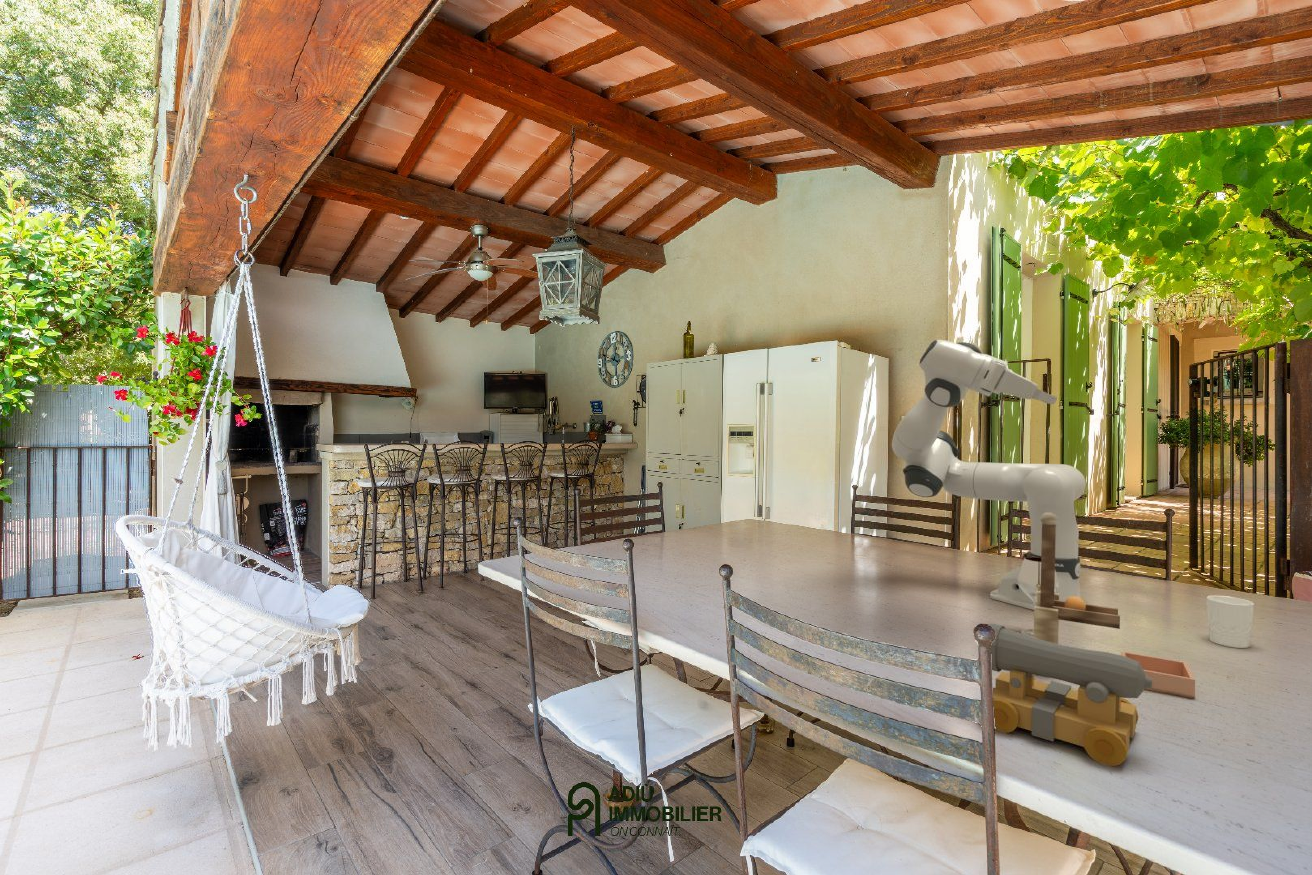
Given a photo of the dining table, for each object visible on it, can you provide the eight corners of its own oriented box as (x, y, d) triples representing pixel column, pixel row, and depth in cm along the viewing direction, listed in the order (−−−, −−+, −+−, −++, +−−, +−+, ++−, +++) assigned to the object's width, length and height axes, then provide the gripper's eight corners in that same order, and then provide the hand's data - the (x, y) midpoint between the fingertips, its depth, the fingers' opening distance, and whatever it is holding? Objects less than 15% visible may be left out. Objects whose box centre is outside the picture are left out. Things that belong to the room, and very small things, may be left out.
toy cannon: (1144, 778, 86) (1146, 673, 86) (973, 724, 102) (975, 634, 101) (1155, 736, 98) (1157, 643, 98) (1000, 694, 113) (1002, 613, 113)
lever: (1037, 620, 124) (1039, 515, 124) (1039, 606, 134) (1041, 508, 134) (1120, 633, 117) (1123, 521, 117) (1116, 618, 127) (1119, 514, 126)
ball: (1061, 613, 126) (1061, 596, 126) (1068, 610, 128) (1068, 593, 128) (1081, 617, 123) (1082, 600, 123) (1088, 614, 125) (1088, 597, 125)
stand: (1018, 670, 124) (1019, 606, 124) (1023, 645, 138) (1024, 588, 138) (1072, 680, 119) (1073, 614, 119) (1071, 654, 133) (1073, 594, 133)
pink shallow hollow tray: (1124, 685, 117) (1124, 667, 117) (1120, 668, 126) (1121, 651, 126) (1194, 698, 112) (1195, 679, 112) (1185, 679, 120) (1186, 662, 120)
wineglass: (1054, 632, 147) (1055, 557, 147) (1060, 643, 140) (1061, 564, 140) (1014, 627, 151) (1016, 554, 150) (1018, 637, 143) (1020, 561, 143)
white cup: (1262, 650, 136) (1263, 606, 136) (1220, 647, 138) (1222, 603, 138) (1236, 638, 144) (1237, 596, 144) (1197, 636, 146) (1198, 594, 145)
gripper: (985, 389, 155) (1042, 412, 150) (984, 388, 137) (1050, 414, 132) (997, 366, 154) (1056, 388, 148) (998, 362, 136) (1065, 388, 130)
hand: (1053, 401), depth 140 cm, fingers open, 8 cm apart
